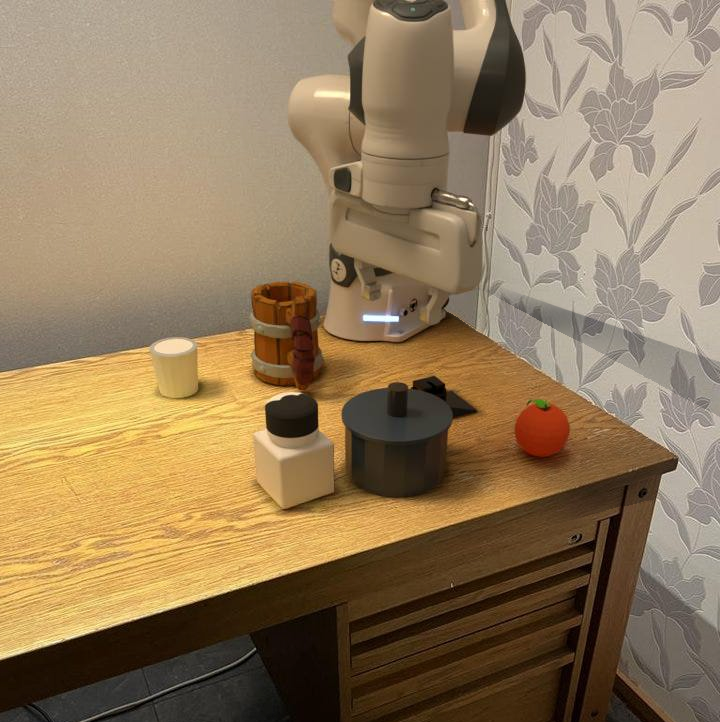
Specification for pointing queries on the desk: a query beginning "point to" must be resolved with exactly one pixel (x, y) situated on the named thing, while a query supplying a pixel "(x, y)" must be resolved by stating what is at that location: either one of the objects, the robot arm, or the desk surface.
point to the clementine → (542, 429)
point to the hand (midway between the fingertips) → (399, 310)
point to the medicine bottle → (293, 451)
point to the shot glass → (175, 366)
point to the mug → (286, 334)
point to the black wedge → (444, 395)
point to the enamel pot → (395, 465)
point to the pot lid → (397, 415)
